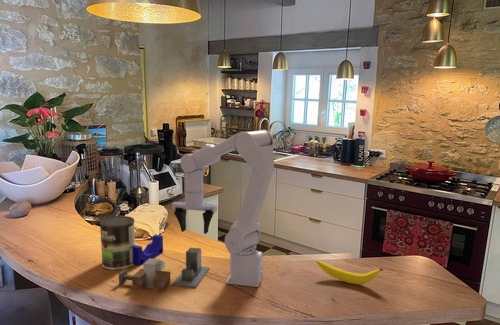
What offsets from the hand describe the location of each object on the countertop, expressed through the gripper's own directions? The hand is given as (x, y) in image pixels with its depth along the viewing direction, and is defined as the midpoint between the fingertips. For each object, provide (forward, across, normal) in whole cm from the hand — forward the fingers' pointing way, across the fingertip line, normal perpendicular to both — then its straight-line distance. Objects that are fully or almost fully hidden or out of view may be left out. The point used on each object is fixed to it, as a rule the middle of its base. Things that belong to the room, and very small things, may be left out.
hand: (194, 231), depth 118 cm
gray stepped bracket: (+9, +3, -11) cm, 15 cm away
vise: (+10, -8, -19) cm, 23 cm away
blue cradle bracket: (+10, -17, -2) cm, 19 cm away
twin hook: (+10, -8, -13) cm, 18 cm away
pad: (+10, +3, -11) cm, 15 cm away
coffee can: (+10, -23, -7) cm, 26 cm away
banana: (+10, +48, -4) cm, 49 cm away
